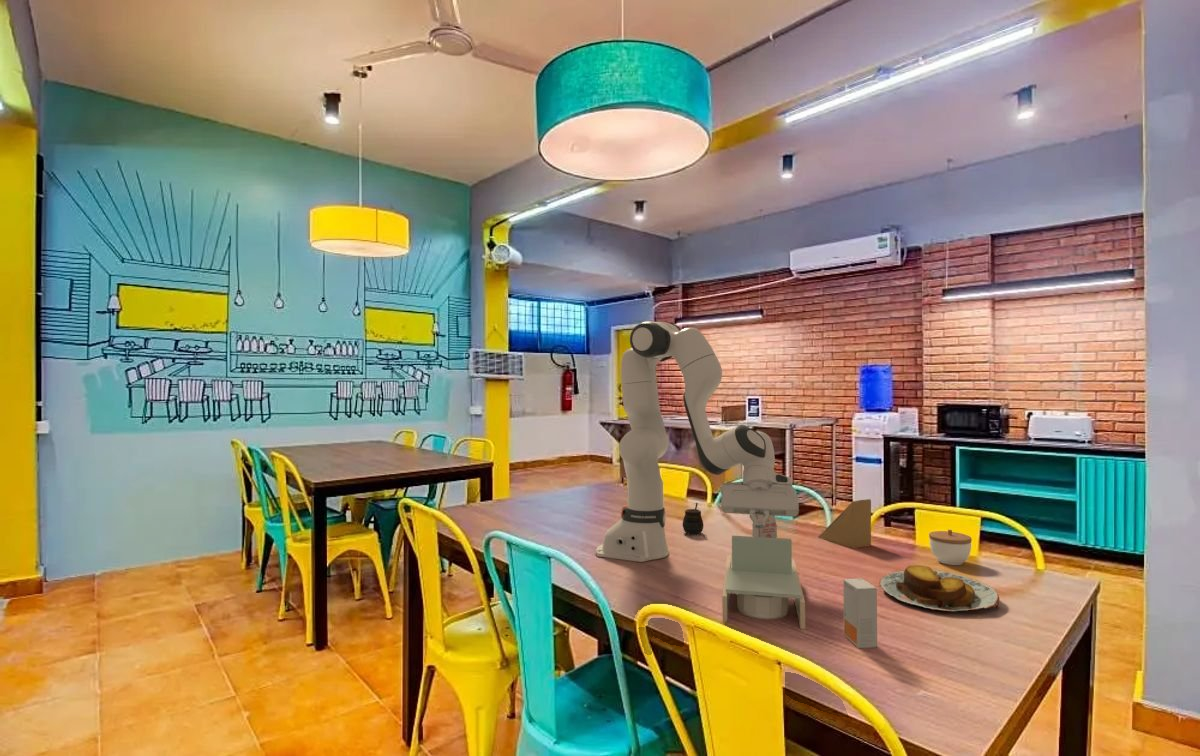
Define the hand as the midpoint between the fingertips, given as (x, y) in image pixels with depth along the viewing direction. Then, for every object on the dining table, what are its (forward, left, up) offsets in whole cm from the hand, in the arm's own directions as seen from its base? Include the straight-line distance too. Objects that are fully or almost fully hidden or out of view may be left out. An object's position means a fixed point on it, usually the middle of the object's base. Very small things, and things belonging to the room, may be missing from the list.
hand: (759, 527), depth 157 cm
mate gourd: (-22, +49, -15) cm, 56 cm away
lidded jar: (+54, +32, -15) cm, 65 cm away
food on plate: (+42, +1, -15) cm, 45 cm away
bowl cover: (0, -18, -9) cm, 20 cm away
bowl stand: (0, -11, -15) cm, 19 cm away
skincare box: (+19, -31, -15) cm, 40 cm away
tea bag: (+2, +42, -15) cm, 45 cm away
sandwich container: (+28, +50, -15) cm, 59 cm away
